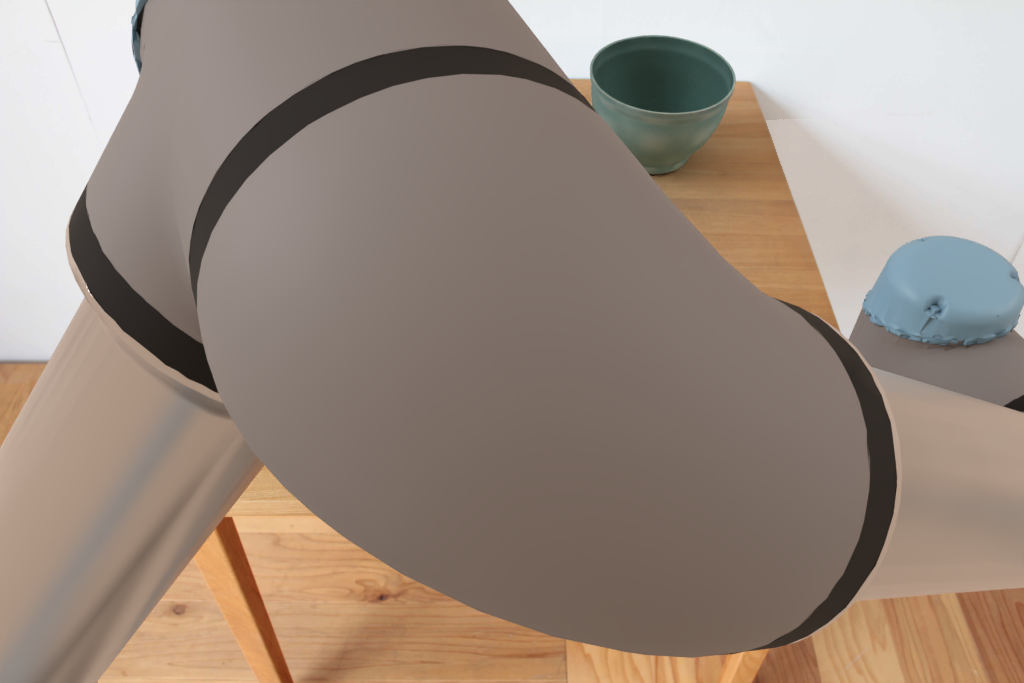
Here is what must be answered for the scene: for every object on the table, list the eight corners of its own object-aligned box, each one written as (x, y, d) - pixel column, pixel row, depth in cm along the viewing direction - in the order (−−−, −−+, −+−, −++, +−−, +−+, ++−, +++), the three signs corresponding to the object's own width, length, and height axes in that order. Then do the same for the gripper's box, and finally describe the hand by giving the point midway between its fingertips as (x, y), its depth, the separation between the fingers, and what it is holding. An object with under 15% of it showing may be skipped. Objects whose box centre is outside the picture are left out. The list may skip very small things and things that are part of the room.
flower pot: (714, 117, 108) (731, 38, 100) (721, 199, 97) (741, 117, 89) (586, 109, 109) (593, 30, 101) (580, 189, 98) (586, 108, 90)
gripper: (664, 540, 58) (401, 418, 64) (774, 305, 72) (550, 226, 79) (680, 481, 52) (390, 354, 59) (796, 239, 66) (553, 159, 73)
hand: (481, 280), depth 69 cm, fingers open, 13 cm apart
